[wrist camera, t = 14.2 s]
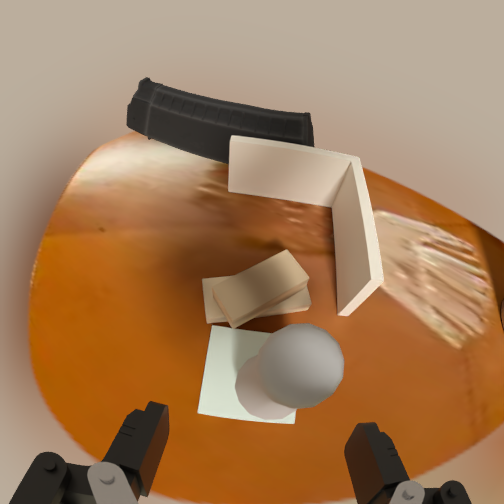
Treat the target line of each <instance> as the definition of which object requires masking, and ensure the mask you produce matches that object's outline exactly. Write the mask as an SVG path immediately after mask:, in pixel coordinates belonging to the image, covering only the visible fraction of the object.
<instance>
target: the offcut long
mask: <svg viewBox="0 0 504 504" xmlns="http://www.w3.org/2000/svg"><path fill="white" fill-rule="evenodd" d="M230 277H232V276H225V277H215V278H205V279H202V284H203V294H204V304H205V313H206V320H207V324H208V323H217V322H226V321H227V319H226V318H225V316H224V315H223V313H222V311H221V310H220V308H219V306H218V305H217V303H216V301H215V300H214V298H213V292H212V286H214V285H216V284H218V283H220V282H222V281H224V280H226V279H228V278H230ZM311 304H312V303H311V299H310V296H309V292H308V288H307V285H306V286H305V288H304V289H303V290H301V291H300V292H298V293H296V294H295V295H293V296H291V297H290V298H288V299H286V300H284V301H283V302H281V303H279V304H277V305H276V306H274V307H272V308H270V309H269V310H267V311H265V312H263V313H262V314H260V315H258V316H256V317H254V318H258V317H265V316H272V315H279V314H286V313H292V312H298V311H304V310H308V308H309V307H310V306H311Z"/></svg>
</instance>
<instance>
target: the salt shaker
mask: <svg viewBox="0 0 504 504" xmlns="http://www.w3.org/2000/svg"><path fill="white" fill-rule="evenodd" d="M343 369H344V358H343V355H342V352H341V349H340V346H339V343H338V342H337V341H336V340H335V339H334V338H333V337H332V336H331V335H330V334H329V333H328V332H327V331H326V330H324V329H322V328H319V327H317V326H314V325H312V324H310V323H303V324H290V325H288V326H286V327H284V328H282V329H280V330H278V331H276V332H274V333H272V334H270V336H269V337H268V338H267V340H266V341H265V342H264V344H263V345H262V347H261V348H260V349H259V353H258V355H256V356H254V357H251V358H249V359H248V360H247V361H246V362H245V363H244V365H243V366H242V367H241V368H240V370H239V371H238V374H237V378H236V383H235V390H236V394H237V397H238V400H239V403H240V404H241V405H242V406H243V407H244V408H245V409H246V411H247V412H248V413H249V414H251V415H253V416H256V417H259V418H262V419H264V420H273V419H283V418H284V417H286V416H288V415H290V414H291V413H293V412H295V411H296V410H297V409H298V408H308V407H314V406H316V405H317V404H319V403H320V402H322V401H323V400H325V399H327V398H328V397H330V396H331V395H332V394H333V393H334V391H335V390H336V388H337V386H338V385H339V383H340V382H341V380H342V378H343Z"/></svg>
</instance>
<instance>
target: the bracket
mask: <svg viewBox="0 0 504 504" xmlns="http://www.w3.org/2000/svg"><path fill="white" fill-rule="evenodd" d="M228 192H233V193H241V194H249V195H256V196H263V197H270V198H277V199H283V200H290V201H296V202H302V203H308V204H314V205H320V206H326V207H331V208H332V216H333V228H334V242H335V258H336V279H337V315H341V316H349V315H350V314H351V313H352V312H353V311H354V310H355V309H356V308H357V307H358V306H359V305H360V304H361V303H362V302H363V301H364V300H365V299H366V298H367V297H368V296H369V295H370V294H371V293H372V292H373V291H374V290H375V289H376V288H377V287H378V286H379V285H380V284H381V283H382V282H383V281H384V278H383V271H382V264H381V257H380V250H379V244H378V239H377V233H376V228H375V222H374V217H373V212H372V208H371V203H370V199H369V194H368V190H367V186H366V182H365V178H364V174H363V170H362V166H361V162H360V159H359V157H356V156H352V155H347V154H343V153H338V152H334V151H329V150H325V149H320V148H314V147H309V146H304V145H298V144H292V143H286V142H280V141H273V140H266V139H259V138H251V137H243V136H234V135H232V136H231V139H230V151H229V182H228Z"/></svg>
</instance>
